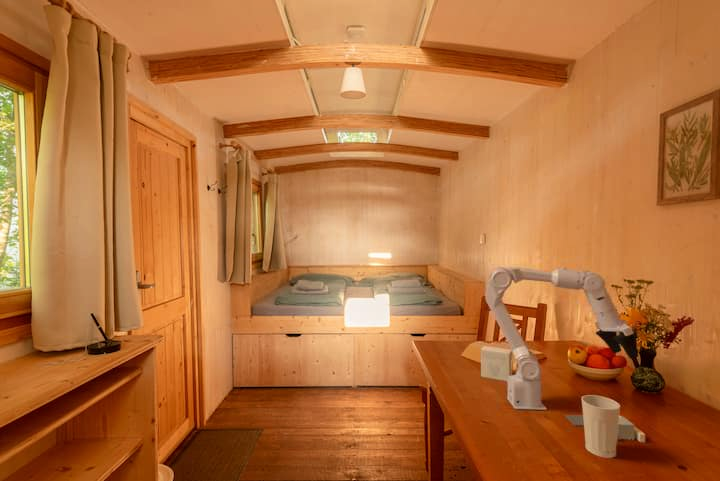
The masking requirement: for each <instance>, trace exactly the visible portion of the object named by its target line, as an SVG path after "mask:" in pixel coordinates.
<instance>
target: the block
mask: <svg viewBox="0 0 720 481" xmlns="http://www.w3.org/2000/svg"><path fill="white" fill-rule="evenodd" d="M634 426H635V424H634V423H632V422H631V421H629V419H627V418H626V417H625V416H621V417H619V420H618V432H617V440H621V439H625V440H626V439H628V440H626V441H634V440H635V437H634ZM631 439H632V440H631Z"/></svg>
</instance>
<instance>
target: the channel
mask: <svg viewBox="0 0 720 481" xmlns="http://www.w3.org/2000/svg"><path fill="white" fill-rule="evenodd" d="M619 417H622V415H620V414H619ZM634 439H636V440H637V441H638V442H640V443H646V434H645V433H644V432H643V431H642V430H640V429H638V428H637V427H636V426H635V425H634Z"/></svg>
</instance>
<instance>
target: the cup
mask: <svg viewBox="0 0 720 481" xmlns="http://www.w3.org/2000/svg"><path fill="white" fill-rule="evenodd" d="M581 407H582V415H583V419H584V426H583V428H584V442H585V446H584V447H585V449H586V450H587V451H588V452H590V453H591V454H593V455H595V456H598V457H600V458H605V459H613V458H615V457H616V456H617V442H618V439H617V432H618V420H619V415H620V413H621V412H620V410H621V404H620V403H618V402H617V401H616V400H613V399H611V398H609V397H606V396H602V395H595V394H586V395H583V396H581Z"/></svg>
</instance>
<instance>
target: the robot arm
mask: <svg viewBox="0 0 720 481" xmlns="http://www.w3.org/2000/svg"><path fill="white" fill-rule="evenodd" d="M523 280H526V281H534V282H545V283H551V284H552V285H553V287H555V288H558V289H559V288H561V289H568V290H576V291H579V290H583V291H584V293H585V296H586V298H587V302H588V304H589V306H590V308H591V310H592V313H593V314H594V317H595V319H596V322H594V325H595V327H596V329H597V330H598V331H595V334H596V335H597V336H598V337H599V338H600V339H601V340H602V341H603V342H604V343H605V344H606V346H607V347H608V348H609V349H610V351H611V352H612V353H613V354H617V353H620V352H622V349H623V350H624V352H625V354H626V355H627V357H628V358H629V359H630V360H633V359H635V358H636V359H637V358H638V357H639V351H638V346H637V341H638V340H637V337H638V332H637V331H635V330H633V329H632V327H631V326H628V325H627V323H628V322H627V320H626V319H621V317H620V313H619V312H618V311H617V308H616V306H615V304H614V302H613V300H612V297H611V296H610V294H609V293H608V290H607V289H606V280H605V279H604V277H602V276H601V275H600V274H598V273H595V272H592V271H588V270H587V271H585V270H584V269H580V270H573V269H567V267H560V268H556V269H555V270H553V271H545V270H539V269H531V268H523V267H513V266H511V267H510V266H509V267H506V268H505V267H503V266H498V267H495V268H494V269H493V270H492V271H491V273H490V275H489V276H488V279H487V284H486V285H487V287H486V292H485V302H486V304H487V305H488V307H489V310H490V311H491V313H492V315H493V316H494V319H495V322H497V325H498V326H499V328H500V330H501V331H502V335H503V336H504V338H505V340H506V342H507V343H508V345H509V347H510V350H512V354H513V357H515V359H516V363H517V366H518V369H517V371H516V372H515V374H513V375H512V376H509V377H508V382H507V397H506V399H507V400H508V402H509V403H510V404H511V405H512V407H513V408H514V409H515V410H531V411H532V410H538V411H539V410H540V411H547V407H546V406H545V405H544V404H543V403H542V368H541V365H540V364H539V359H538V357H537V356H536V354H535V353H533V352H532V351H531V350H530V349H529V347H528V345H527V344H526V343H525V340H524V338H523V337H522V335H521V333H520V331H519V329H518V327H517V325H516V324H515V322H514V320H513V318H512V317H511V315H510V312H509V311H508V308H507V307H506V305H505V303H504V302H503V300H502V299H503V297H504V295H505V292H506V291H507V290H508V289H509V288H510V286H511V285H512V283H513V282H514V284H517V283H519V282H521V281H523ZM618 333H619V334H618Z"/></svg>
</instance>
